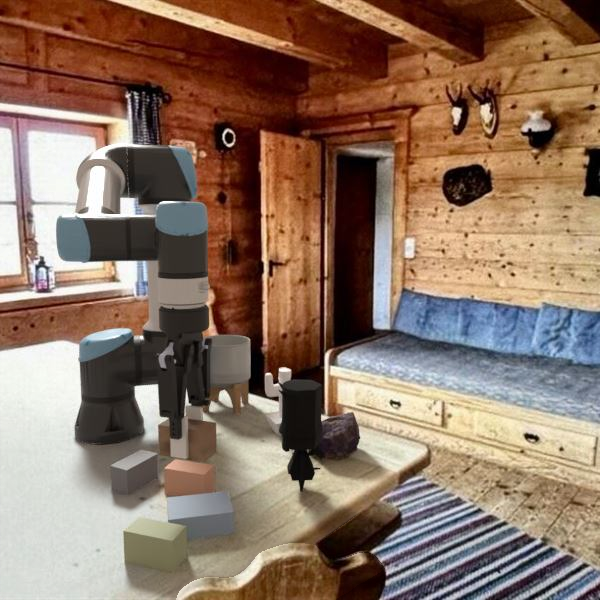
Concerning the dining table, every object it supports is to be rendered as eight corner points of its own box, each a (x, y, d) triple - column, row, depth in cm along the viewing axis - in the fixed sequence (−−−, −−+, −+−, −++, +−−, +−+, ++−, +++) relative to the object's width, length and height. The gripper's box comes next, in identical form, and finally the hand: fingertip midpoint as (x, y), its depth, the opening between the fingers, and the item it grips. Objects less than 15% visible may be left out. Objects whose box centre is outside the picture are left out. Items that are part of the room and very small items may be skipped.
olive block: (124, 562, 82) (123, 530, 82) (140, 547, 86) (139, 516, 85) (173, 573, 80) (172, 540, 79) (187, 557, 84) (186, 526, 83)
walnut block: (159, 455, 89) (158, 424, 88) (172, 445, 93) (171, 416, 92) (204, 462, 86) (203, 431, 85) (216, 452, 90) (216, 422, 89)
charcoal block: (127, 496, 101) (126, 470, 100) (111, 491, 103) (110, 465, 102) (158, 478, 108) (157, 453, 107) (142, 473, 110) (141, 449, 109)
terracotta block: (164, 494, 102) (163, 468, 101) (175, 484, 106) (175, 459, 105) (204, 501, 100) (204, 474, 99) (214, 491, 104) (214, 465, 103)
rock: (305, 457, 121) (330, 475, 112) (299, 420, 119) (324, 435, 110) (350, 438, 126) (377, 454, 117) (345, 403, 124) (372, 416, 116)
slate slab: (169, 544, 87) (168, 519, 87) (167, 520, 94) (167, 497, 93) (233, 535, 90) (233, 512, 89) (227, 512, 97) (227, 490, 96)
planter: (192, 404, 149) (190, 338, 146) (234, 395, 157) (234, 332, 154) (215, 419, 139) (214, 348, 136) (260, 408, 146) (259, 341, 144)
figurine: (309, 433, 130) (310, 370, 128) (271, 440, 126) (271, 375, 124) (296, 423, 137) (296, 362, 134) (259, 429, 133) (259, 367, 130)
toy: (275, 479, 108) (276, 377, 105) (323, 477, 109) (325, 377, 106) (277, 501, 100) (278, 392, 97) (329, 499, 101) (331, 391, 98)
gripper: (175, 315, 77) (180, 477, 80) (231, 298, 93) (232, 434, 96) (128, 311, 79) (134, 469, 83) (190, 295, 95) (193, 429, 99)
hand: (187, 450), depth 89 cm, fingers closed on walnut block, 4 cm apart
